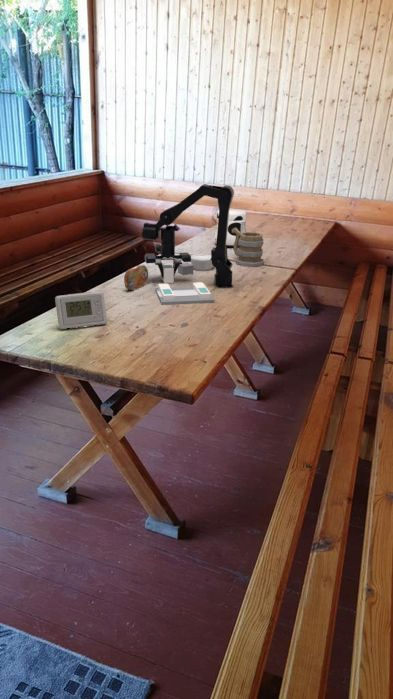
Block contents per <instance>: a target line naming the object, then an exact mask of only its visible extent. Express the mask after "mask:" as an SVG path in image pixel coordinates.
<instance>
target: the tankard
mask: <svg viewBox="0 0 393 699" xmlns="http://www.w3.org/2000/svg"><path fill="white" fill-rule="evenodd" d="M232 233H236V239H235V243H234V247H233V252H234V255H235V256H237V258H236V260H235V264H236V265H239V266H241V267H247V268H248V267H250V268H256V267H260V266H263V264H264V259H263V258H262V256H263V253H264V252H263V251H264V249H263V248H262V247H263V246H264V239H263V235H264V234H263V233H260V232H253V231H246V232H243V233H241V232H240V231H239V230H238V229H237V228H234V229H232ZM238 245H240V246H238Z"/></svg>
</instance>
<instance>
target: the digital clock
mask: <svg viewBox="0 0 393 699" xmlns="http://www.w3.org/2000/svg"><path fill="white" fill-rule="evenodd" d="M54 300H55V301H54V302H55V307H56V308H55V309H56V316H57V324H58V328H59V329H60V330H68V329H67V328H76V327H84V326H92V327H95V326H94V325H97V326H101V325H102V326H103V325H106V324H108V317H107V310H106V302H105V295H104V292H103V291H93V292H91V291H88V292H80V293H79V292H78V293H69V294H64V295H56V296H55V297H54Z"/></svg>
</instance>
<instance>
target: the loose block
mask: <svg viewBox="0 0 393 699" xmlns="http://www.w3.org/2000/svg"><path fill="white" fill-rule="evenodd" d="M177 273H178V274H180V275H182V276H190V275H194V269H193V265H191V263H190V262H182V264H180V265H179V267H178V269H177ZM189 274H190V275H189Z"/></svg>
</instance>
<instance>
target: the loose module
mask: <svg viewBox="0 0 393 699" xmlns="http://www.w3.org/2000/svg"><path fill="white" fill-rule="evenodd" d="M161 279H162V282H163V284H171V283H174V281H175V280H174V279H175V276H174V268H173V264H163V278H162V277H161Z"/></svg>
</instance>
